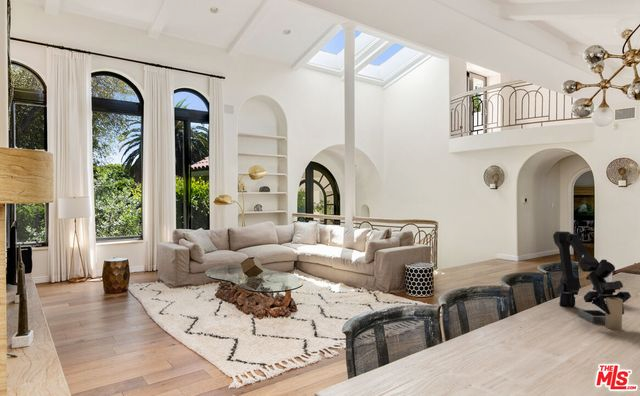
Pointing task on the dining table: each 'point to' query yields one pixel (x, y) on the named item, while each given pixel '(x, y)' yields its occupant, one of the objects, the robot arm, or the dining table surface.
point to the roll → (614, 313)
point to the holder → (593, 315)
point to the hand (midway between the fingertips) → (616, 314)
